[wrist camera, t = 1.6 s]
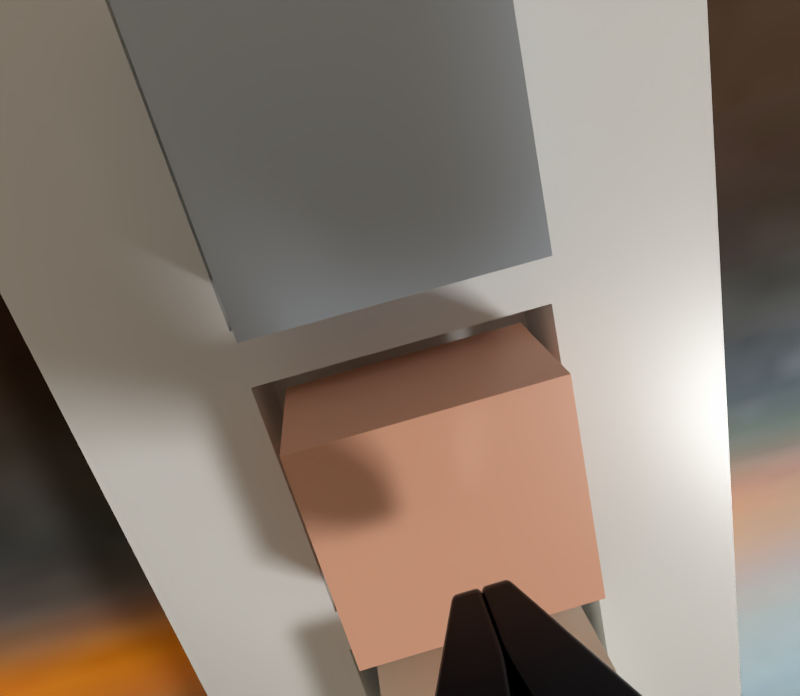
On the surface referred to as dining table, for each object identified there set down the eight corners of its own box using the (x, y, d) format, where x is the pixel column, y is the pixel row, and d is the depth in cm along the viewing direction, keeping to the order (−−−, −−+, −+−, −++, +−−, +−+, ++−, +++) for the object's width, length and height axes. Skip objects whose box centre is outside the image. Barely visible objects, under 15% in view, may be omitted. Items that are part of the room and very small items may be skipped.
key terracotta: (555, 515, 14) (605, 598, 11) (351, 574, 13) (359, 671, 11) (519, 322, 12) (570, 374, 10) (285, 387, 12) (279, 456, 9)
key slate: (502, 225, 11) (552, 255, 9) (253, 294, 11) (236, 342, 9) (448, -70, 9) (493, -129, 7) (151, 7, 9) (97, -27, 7)
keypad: (662, 723, 23) (749, 875, 19) (352, 817, 23) (362, 997, 18) (559, -135, 13) (693, -268, 9) (1, 8, 13) (-176, -50, 8)
